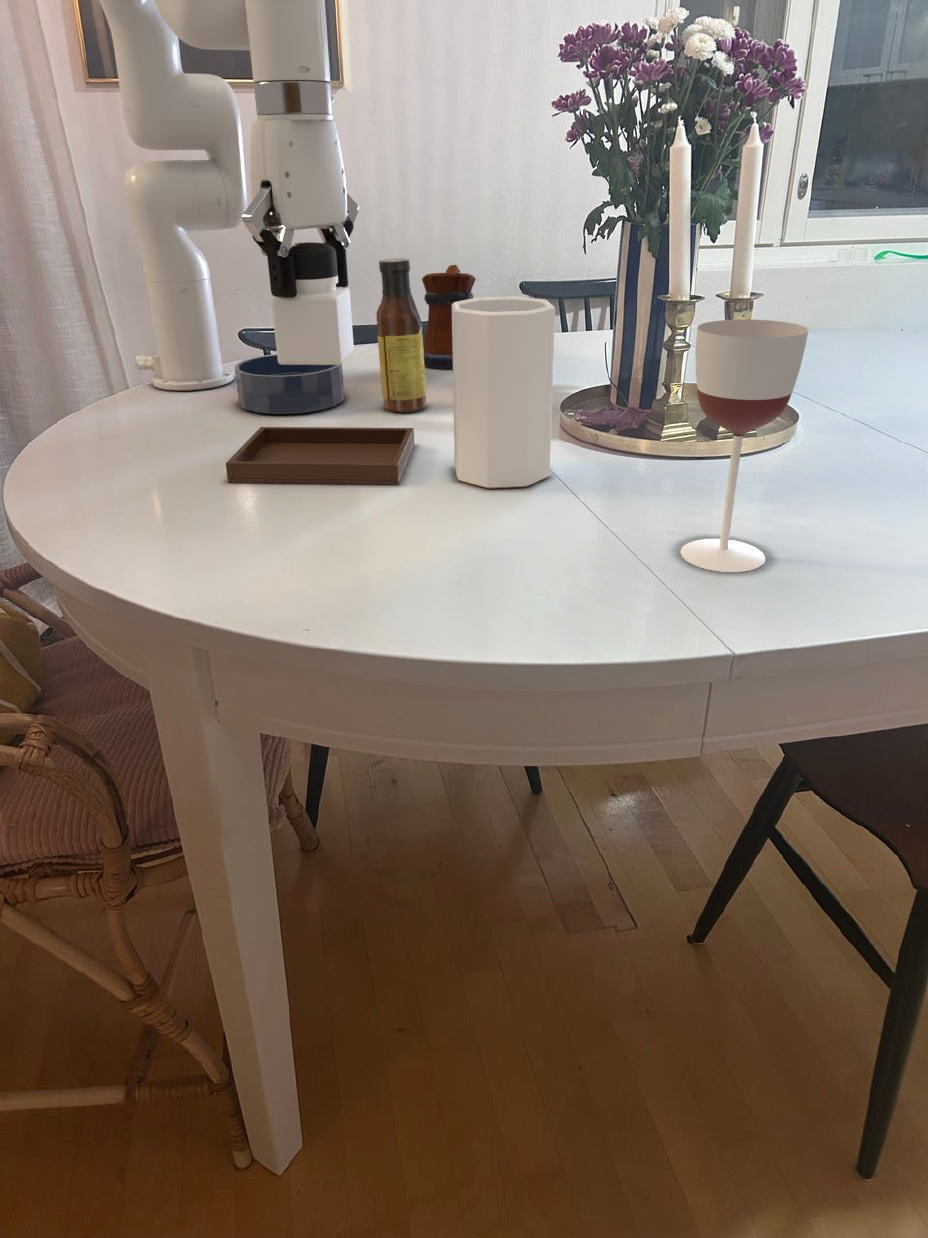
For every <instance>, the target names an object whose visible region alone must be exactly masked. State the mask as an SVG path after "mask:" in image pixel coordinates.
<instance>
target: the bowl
mask: <svg viewBox="0 0 928 1238" xmlns="http://www.w3.org/2000/svg"><path fill="white" fill-rule="evenodd" d="M343 372H344V371H343V362H342V363H341V364H340V365H281V364H279V363H278V358H277V353H276V354H269V355H268V354H267V355H260V356H256V357H251V358H247V359H245V360H242V361H240V362H238V363H237V364H235V365H234V374H235V376H234V377H235V381H236V382H235V383H236V388H237V389H236V391H237V397H238V398H237V399H238V405H239V407H241V408H242V409H244V410H246V411H249V412H253V413H260V414H267V415H293V414H295V415H296V414H305V413H306V414H307V413H312V412H316V411H322V410H326V409H330V408H332V407H335V406H337V405H339V404H341V403H343V401H344V400H345V397H346V396H345V384H344V373H343Z"/></svg>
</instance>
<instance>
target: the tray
mask: <svg viewBox="0 0 928 1238" xmlns="http://www.w3.org/2000/svg"><path fill="white" fill-rule="evenodd" d="M414 448H415V428H414V427H337V426H335V427H330V426H329V427H328V426H322V427H320V426H260V427H259V428H258V429H257V430H256V431H255V432H254V433H253V435H252V434H251V436H250V437H249V438H248V439H247V440H246V441H245V442H244V443H243V445H242V446H241V447H239V449H238V450H236V451H235V453H233V455H232V456H231V457H230V458H229V459H228V460H227V461H226V462H225V470H226V475H227V483H229V484H230V483H231V484H234V483H235V484H239V483H240V484H244V483H246V484H309V485H310V484H311V485H312V484H314V485H316V484H319V485H320V484H321V485H323V484H324V485H394V486H395V485H399V484H400V482H401V479H402V477H403V475H404V472H405V470H406V467H407V465H408V463H409V460H410V458H411V455H412V453H413V450H414Z"/></svg>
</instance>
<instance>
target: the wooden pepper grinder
mask: <svg viewBox="0 0 928 1238" xmlns="http://www.w3.org/2000/svg"><path fill="white" fill-rule="evenodd" d="M421 281H422V284H423V287H424V291H425V293H424V298H423V299H424V301H425V303H426V305H428V317H427V326H426V330H425V334H424V336H423V348H424V349H423V350H424V364H425V368H431V369H438V370H439V369H440V370H453V346H452V304H453V303H454V302H458V301H463V300H468V299H473V298H475V297H474V293H473V292H472V290H473V287H474V284H475V282H476V277H475V276H474V275H473V274H469V273H463V272H461V269H460V268H459V266H458V265H457V264H452V265H448V267H447V269H446V270H445V272H433V273H427V274H424V276H423V277H422V279H421Z"/></svg>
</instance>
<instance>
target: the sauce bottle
mask: <svg viewBox="0 0 928 1238" xmlns="http://www.w3.org/2000/svg"><path fill="white" fill-rule="evenodd" d="M378 266H379V272H380V274H381V285H382V290H381V292H382V297H381V301H380V304H379V306H378V308H377V310H376V313H375V314H376V324H377V325H376V328H377V344H378V345H377V347H378V358H379V369H380V370H379V371H380V382H381V393H382V399H383V406H384V409H386V410H388V411H389V412H394V413H413V412H416V411H420V410H422V409H425V407H426V405H427V380H426V366H425V364H424V350H423V349H424V348H423V340H424V335H423V323H422V320H421V316H420V314H419V311H418V309H417V305H416V302H415V300H414V298H413V294H412V292H411V291H412V289H411V284H410V283H411V281H410V271H411V264H410V260H409V259H408V258H405V257H404V258H402V257H401V258H399V257H398V258H396V257H395V258H385V259H380V260H379V261H378Z"/></svg>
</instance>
